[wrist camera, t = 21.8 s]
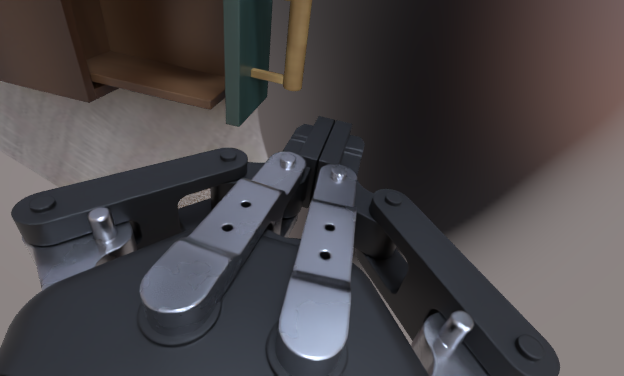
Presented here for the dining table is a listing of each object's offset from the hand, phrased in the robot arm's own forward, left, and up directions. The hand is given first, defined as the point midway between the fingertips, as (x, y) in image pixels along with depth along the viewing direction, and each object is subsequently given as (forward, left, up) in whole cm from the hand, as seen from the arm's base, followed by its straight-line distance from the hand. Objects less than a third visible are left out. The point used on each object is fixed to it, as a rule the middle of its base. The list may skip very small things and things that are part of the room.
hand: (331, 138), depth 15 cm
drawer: (+5, -14, -17) cm, 23 cm away
